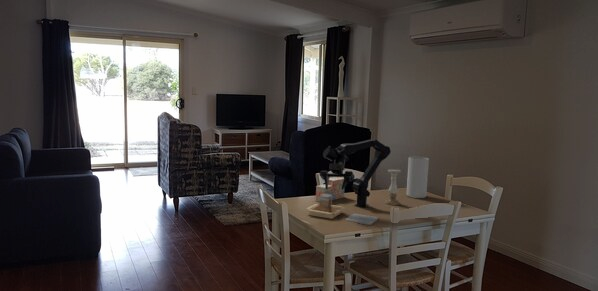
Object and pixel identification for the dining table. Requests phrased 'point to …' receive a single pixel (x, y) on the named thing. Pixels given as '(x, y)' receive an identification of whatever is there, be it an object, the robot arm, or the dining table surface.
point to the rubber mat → (362, 219)
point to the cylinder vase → (417, 177)
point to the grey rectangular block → (325, 203)
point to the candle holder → (393, 188)
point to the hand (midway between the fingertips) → (334, 189)
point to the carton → (315, 212)
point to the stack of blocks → (331, 189)
